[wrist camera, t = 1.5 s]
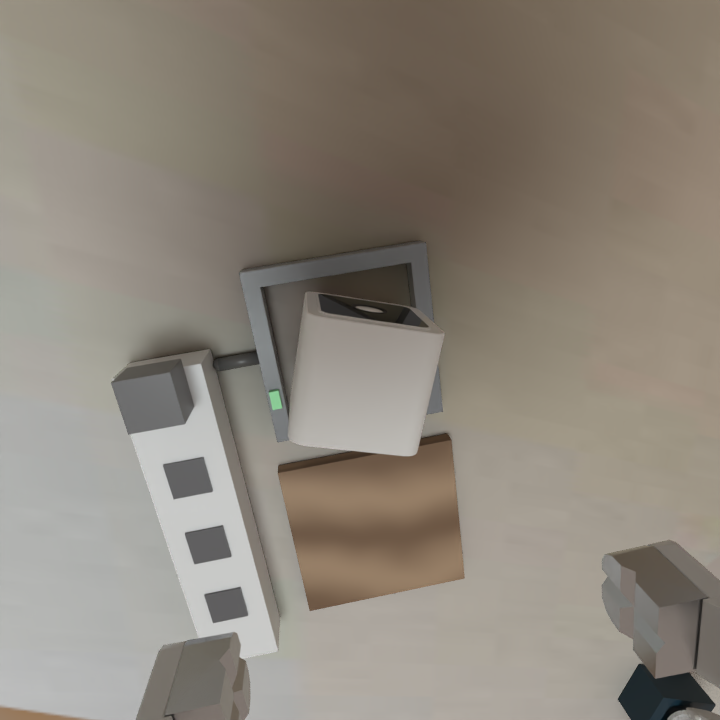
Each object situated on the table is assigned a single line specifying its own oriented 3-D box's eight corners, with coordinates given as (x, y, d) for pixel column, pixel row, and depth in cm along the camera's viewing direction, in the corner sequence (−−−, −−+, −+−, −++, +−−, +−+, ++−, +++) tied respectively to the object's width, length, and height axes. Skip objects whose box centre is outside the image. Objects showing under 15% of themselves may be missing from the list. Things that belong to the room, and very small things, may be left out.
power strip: (127, 355, 30) (91, 386, 25) (265, 331, 30) (258, 356, 25) (215, 630, 37) (201, 699, 32) (325, 607, 37) (329, 671, 32)
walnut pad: (278, 465, 33) (277, 473, 32) (447, 433, 34) (451, 439, 33) (309, 600, 37) (309, 610, 36) (460, 569, 38) (464, 578, 37)
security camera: (403, 294, 31) (449, 334, 21) (383, 396, 33) (416, 474, 23) (304, 279, 30) (306, 313, 20) (289, 384, 31) (284, 461, 22)
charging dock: (242, 269, 29) (238, 273, 27) (419, 240, 30) (427, 242, 28) (278, 432, 32) (277, 444, 31) (436, 402, 33) (444, 413, 31)
